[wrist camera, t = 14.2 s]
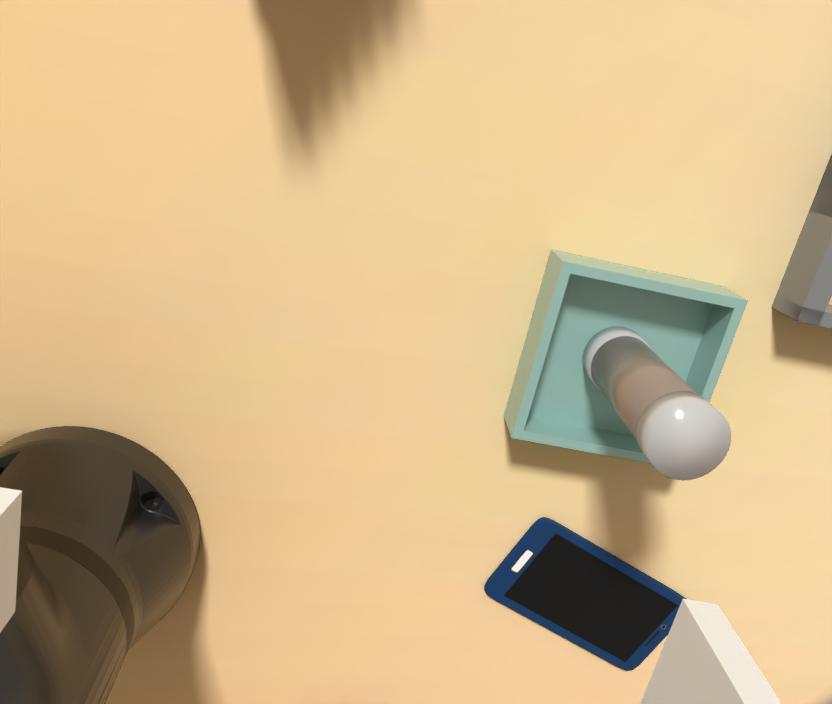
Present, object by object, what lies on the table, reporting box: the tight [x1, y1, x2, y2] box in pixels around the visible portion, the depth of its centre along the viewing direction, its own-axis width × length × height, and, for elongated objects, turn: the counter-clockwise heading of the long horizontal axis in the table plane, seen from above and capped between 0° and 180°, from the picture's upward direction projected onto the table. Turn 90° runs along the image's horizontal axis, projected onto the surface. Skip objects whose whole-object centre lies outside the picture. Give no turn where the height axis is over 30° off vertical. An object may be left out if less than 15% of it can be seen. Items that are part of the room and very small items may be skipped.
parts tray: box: [504, 250, 748, 464], centre depth 46 cm, size 11×11×3 cm
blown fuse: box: [582, 326, 731, 480], centre depth 41 cm, size 4×4×12 cm
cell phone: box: [484, 517, 686, 670], centre depth 54 cm, size 7×14×1 cm, turn 56°
